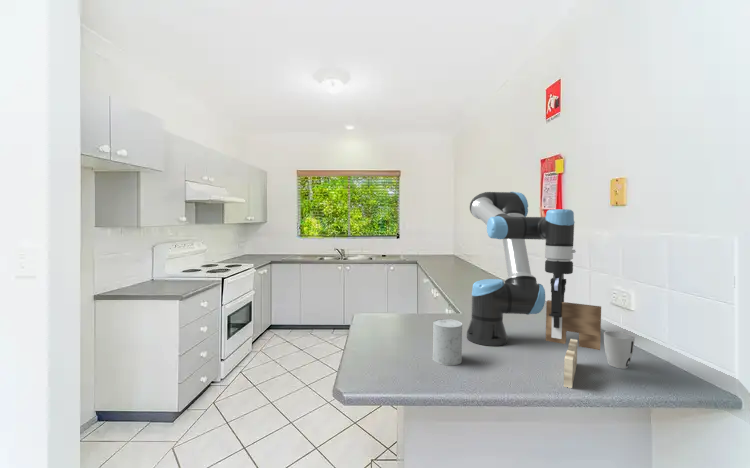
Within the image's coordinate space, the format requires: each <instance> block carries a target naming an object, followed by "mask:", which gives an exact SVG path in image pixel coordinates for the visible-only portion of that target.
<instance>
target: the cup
mask: <svg viewBox="0 0 750 468" xmlns="http://www.w3.org/2000/svg"><path fill="white" fill-rule="evenodd" d="M635 339H636V337H635V336H634V335H632V334H631V333H630V334H629V333H626V332H621V331H615V330H607V331H604V332H603V343H604V344H603V345H604V351H605V357H606V361H607V363H608V365H609V366H610V367H613V368H616V369H623V370H625V369H628V368H629V365H630V364H631V361H632V357H633V352H634V349H635V348H634V346H635Z"/></svg>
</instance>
